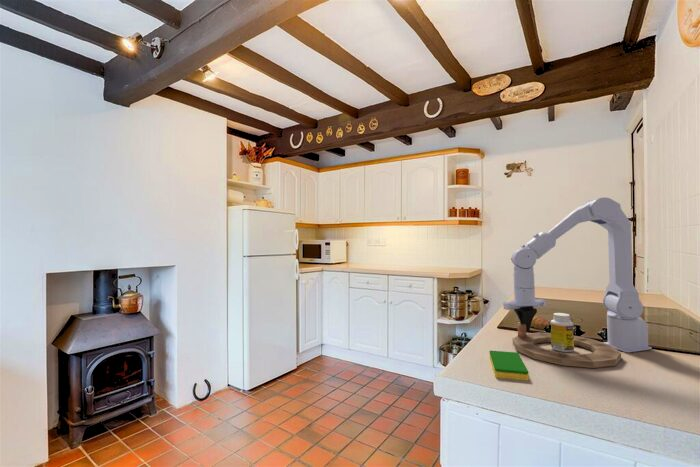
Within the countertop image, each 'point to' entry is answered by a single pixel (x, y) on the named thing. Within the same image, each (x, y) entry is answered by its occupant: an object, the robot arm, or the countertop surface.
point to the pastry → (539, 322)
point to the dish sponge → (508, 365)
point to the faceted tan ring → (598, 358)
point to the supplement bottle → (562, 333)
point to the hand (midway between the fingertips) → (525, 330)
